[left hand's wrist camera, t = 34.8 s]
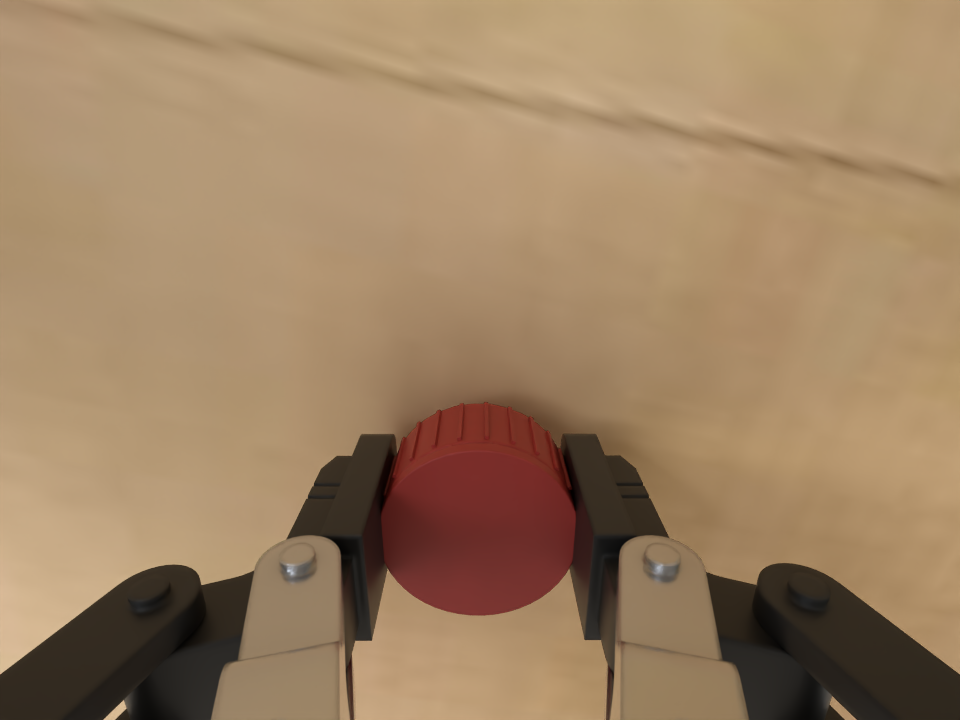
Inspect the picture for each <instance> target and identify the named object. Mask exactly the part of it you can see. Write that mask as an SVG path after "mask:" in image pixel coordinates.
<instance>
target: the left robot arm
mask: <svg viewBox="0 0 960 720" xmlns="http://www.w3.org/2000/svg"><path fill="white" fill-rule="evenodd" d="M561 450H562V453H563V457H564V461H565V464H566V468H567V472H568V475H569V479H570V483H571V486H572V490H570V491H571V494H572V498H573V503H574V506H575V510H576V523H575V537H574V550H573V562H572V564H571V566H570V573H571V577H572V582H573V587H574V592H575V596H576V601H577V606H578V611H579V615H580V620H581V625H582V630H583V634H584V639H585V640H601V641H602V645H603V649H604V653H605V658H606V660H607V669H606V687H605V713H604V720H844V719H843V718H842V717H841V716H840V715H839V714H838V713H837V712H836V711H835V710H834V709H833V708H832V707H831V706H830V705H829V704H830V701H831V698H832V696H833V697H834V698H835V699H836V700H837V701H838V702H839V703H840V704H841V705H842V706H843V707H844V708H845V709H846V710H847V711H848V712H849V713H851V714H852V715H853V716H854V717H855V718H856V719H857V720H960V674H958V673H957V672H956V671H954V670H953V669H952V668H950V667H949V666H948V665H946V664H945V663H944V662H942V661H941V660H940V659H939V658H937V657H936V656H935V655H933V654H932V653H931V652H929V651H928V650H927V649H925V648H924V647H923V646H921V645H920V644H919V643H917V642H916V641H915V640H914V639H912V638H911V637H910V636H908V635H907V634H906V633H904V632H903V631H902V630H900V629H899V628H898V627H896V626H895V625H894V624H892V623H891V622H890V621H889V620H887V619H886V618H885V617H883V616H882V615H881V614H879V613H878V612H877V611H875V610H874V609H873V608H871V607H870V606H869V605H867V604H866V603H865V602H863V601H862V600H861V599H860V598H858V597H857V596H856V595H854V594H853V593H852V592H850V591H849V590H848V589H846V588H845V587H844V586H842V585H841V584H840V583H838V582H837V581H835V580H834V579H833V578H831V577H829V576H827V575H826V574H824V573H821V572H819V571H817V570H814V569H812V568H809V567H805V566H802V565H797V564H789V563H779V564H773V565H770V566H768V567H766V568H764V569H763V570H762V571H761V572H760V574H759V577H758V581H757V585H753V584H749V583H745V582H740V581H736V580H732V579H727V578H723V577H719V576H716V575H713V574H710V573H707V572H706V570H705V566H704V564H703V562H702V560H701V559H700V557H699V556H698V555H697V554H696V553H695V552H694V551H693V550H692V549H690V548H689V547H687V546H686V545H684V544H682V543H680V542H678V541H676V540H673V539H670V538H669V536H668V534H667V532H666V530H665V528H664V526H663V524H662V522H661V520H660V518H659V516H658V514H657V511H656V509H655V507H654V505H653V503H652V501H651V499H650V498H649V495H648V493H647V491H646V489H645V487H644V486H643V483H642V480H641V478H640V476H639V474H638V472H637V470H636V468H635V467H633V466H632V465H631V464H630V463H628V462H627V461H626V460H625V459H624V458H622V457H621V456H605V455H604V452H603V450H602V447H601V445H600V442H599V440H598V437H597V435H596V434H563V435H562V439H561ZM396 455H397V446H396V438H395V435H394V434H362V435H361V436H360V438H359V440H358V443H357V445H356V448H355V450H354V453H353V455H352V456H336V457H335V458H334V459H333V460H331V461H330V462H329V463H328V464H327V465H325V466H324V467H323V468H322V469H321V470H320V472H319V474H318V476H317V479H316V481H315V483H314V486H313V487H312V489H311V491H310V493H309V495H308V499H306V501H305V503H304V505H303V507H302V509H301V511H300V513H299V515H298V517H297V519H296V521H295V523H294V525H293V527H292V529H291V531H290V533H289V535H288V537H287V539H286V540H284V541H282V542H280V543H278V544H276V545H274V546H273V547H271V548H270V549H268V550H267V551H266V552H265V553H264V554H263V555H262V556H261V557H260V559H259V560H258V562H257V564H256V566H255V570H254V571H252V572H250V573H247V574H245V575H242V576H239V577H235V578H231V579H227V580H223V581H218V582H214V583H210V584H205V585H201V582H200V578H199V575H198V574H197V572H196V571H194V570H193V569H192V568H189V567H187V566H182V565H164V566H158V567H155V568H151V569H148V570H145V571H142V572H140V573H138V574H136V575H133V576H132V577H130V578H128V579H126V580H125V581H123V582H122V583H120V584H119V585H118V586H116V587H115V588H114V589H112V590H111V591H110V592H108V593H107V594H106V595H104V596H103V597H102V598H100V599H99V600H98V601H96V602H95V603H94V604H93V605H91V606H90V607H89V608H87V609H86V610H85V611H83V612H82V613H81V614H79V615H78V616H77V617H75V618H74V619H73V620H71V621H70V622H69V623H68V624H66V625H65V626H64V627H62V628H61V629H60V630H58V631H57V632H56V633H54V634H53V635H52V636H50V637H49V638H48V639H46V640H45V641H44V642H43V643H41V644H40V645H39V646H37V647H36V648H35V649H33V650H32V651H31V652H29V653H28V654H27V655H25V656H24V657H23V658H21V659H20V660H19V661H18V662H16V663H15V664H14V665H12V666H11V667H10V668H8V669H7V670H6V671H4V672H3V673H2V674H0V720H103V719H104V718H105V717H106V716H107V715H108V714H109V713H110V712H112V711H113V710H114V709H115V708H116V707H117V706H118V705H119V704H120V703H121V702H122V701H123V700H124V702H125V705H126V708H127V709H126V710H125V711H124V712H123V713H122V714H121V715H120V716H119V717H118V718H117V719H116V720H356V713H355V687H354V669H353V661H352V651H353V647H354V643H355V641H372V637H373V633H374V628H375V624H376V619H377V614H378V610H379V605H380V601H381V596H382V591H383V587H384V582H385V578H386V573H387V569H388V568H387V566H386V564H385V562H384V550H383V537H382V524H381V510H382V506H383V502H384V493H385V489H386V486H387V482H388V478H389V475H390V471H391V468H392V464H393V460H394V457H395V456H396Z"/></svg>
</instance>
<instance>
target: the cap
mask: <svg viewBox="0 0 960 720" xmlns="http://www.w3.org/2000/svg"><path fill="white" fill-rule="evenodd" d="M570 490H572V486H571V483H570V479H569V475H568V472H567V468H566V464H565V461H564V457H563V453H562V450H561V448H559V449H558V448H557V446H556V444H555V443H554V441H553V440H552V438H551V434H550V432H549V431H545V430H544V429H543V428H542V427H541V426H540V425H538V424H537V423H536V422H534V420H533V418H532V417H531V416H530V417H527V416H526V415H524V414H522V413H519V412H517V411H514V410H512V407H508V408H505V407H502V406H498V405H494V404H492V405H491V404H488V402H484V404H467V405H464V403H461V404H460V405H458V406H454V407H451V408H449V409H446V410H443V411H441V410H438V411H437V412H436V414H434V415H432V416H430V417H429V418H427V419H426V420H424V421H423V422H420V421H419V422H418V423H417V425H416V428H414V429H413V430H412V431H411V433H410V434H409V435H408V436H407V437H406V438H405V437H403V439H402V441H401V445H400V448H399V451H398V453H397V455H396V456H395V457H394V460H393V464H392V468H391V471H390V475H389V478H388V482H387V486H386V489H385V493H384V502H383V506H382V510H381V524H382V537H383V550H384V562H385V564H386V566H387V568H388V569H389V571H390V573H391V574H392V575H393V577H394V578H395V579H396V581H397V582H398V583H399V584H400V585H401V586H402V587H403V588H404V589H405V590H407V591H408V592H409V593H410V594H412V595H413V596H414V597H416V598H418V599H419V600H421V601H423V602H424V603H427V604H429V605H431V606H433V607H435V608H438V609H441V610H444V611H448V612H452V613H457V614H464V615H493V614H500V613H505V612H509V611H512V610H516V609H519V608H521V607H524V606H526V605H528V604H531V603H532V602H534V601H536V600H538V599H540V598H541V597H542V596H544V595H545V594H547V593H548V592H549V591H551V590H552V589H553V588H554V587H555V586H556V585H557V584H558V583H559V582H560V580H561V579H562V578H563V577H564V576H565V574H566V573H567V571H568V569H569V568H570V566H571V564H572V562H573V550H574V537H575V523H576V510H575V506H574V503H573V498H572V494H571V491H570Z"/></svg>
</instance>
